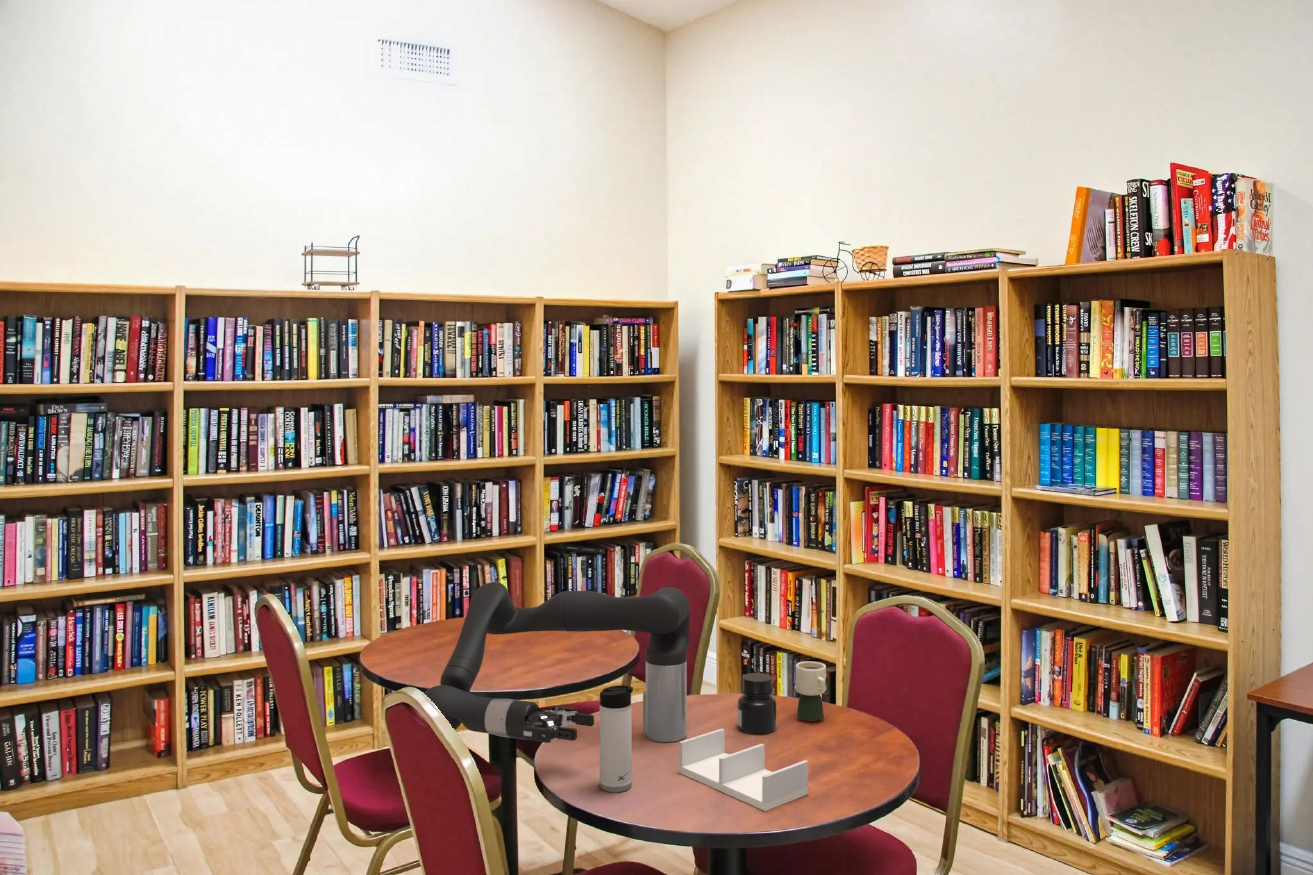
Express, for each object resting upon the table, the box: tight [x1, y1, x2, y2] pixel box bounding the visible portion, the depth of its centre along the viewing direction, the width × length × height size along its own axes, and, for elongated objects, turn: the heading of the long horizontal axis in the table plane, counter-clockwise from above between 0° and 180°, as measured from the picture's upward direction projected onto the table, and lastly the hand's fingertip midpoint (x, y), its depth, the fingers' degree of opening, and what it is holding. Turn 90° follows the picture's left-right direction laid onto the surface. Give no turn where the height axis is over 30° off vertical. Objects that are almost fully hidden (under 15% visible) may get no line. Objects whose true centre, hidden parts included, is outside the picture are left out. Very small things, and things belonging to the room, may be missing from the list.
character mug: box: [795, 660, 827, 722], centre depth 240 cm, size 11×7×13 cm, turn 25°
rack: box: [679, 728, 809, 812], centre depth 202 cm, size 24×12×6 cm, turn 41°
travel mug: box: [599, 684, 634, 793], centre depth 200 cm, size 6×7×20 cm
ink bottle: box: [736, 672, 777, 735], centre depth 234 cm, size 10×9×12 cm
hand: (585, 727), depth 203 cm, fingers open, 8 cm apart
